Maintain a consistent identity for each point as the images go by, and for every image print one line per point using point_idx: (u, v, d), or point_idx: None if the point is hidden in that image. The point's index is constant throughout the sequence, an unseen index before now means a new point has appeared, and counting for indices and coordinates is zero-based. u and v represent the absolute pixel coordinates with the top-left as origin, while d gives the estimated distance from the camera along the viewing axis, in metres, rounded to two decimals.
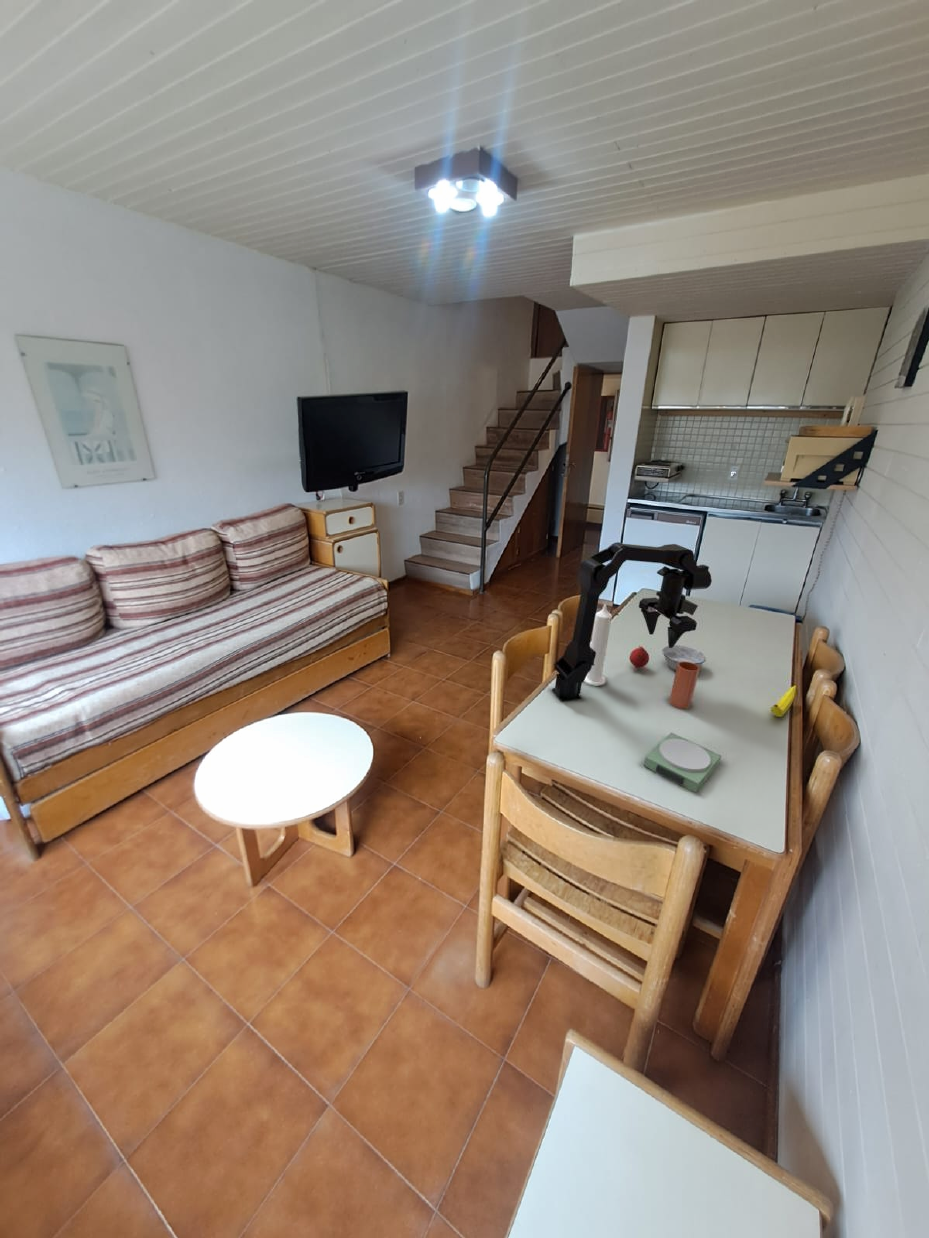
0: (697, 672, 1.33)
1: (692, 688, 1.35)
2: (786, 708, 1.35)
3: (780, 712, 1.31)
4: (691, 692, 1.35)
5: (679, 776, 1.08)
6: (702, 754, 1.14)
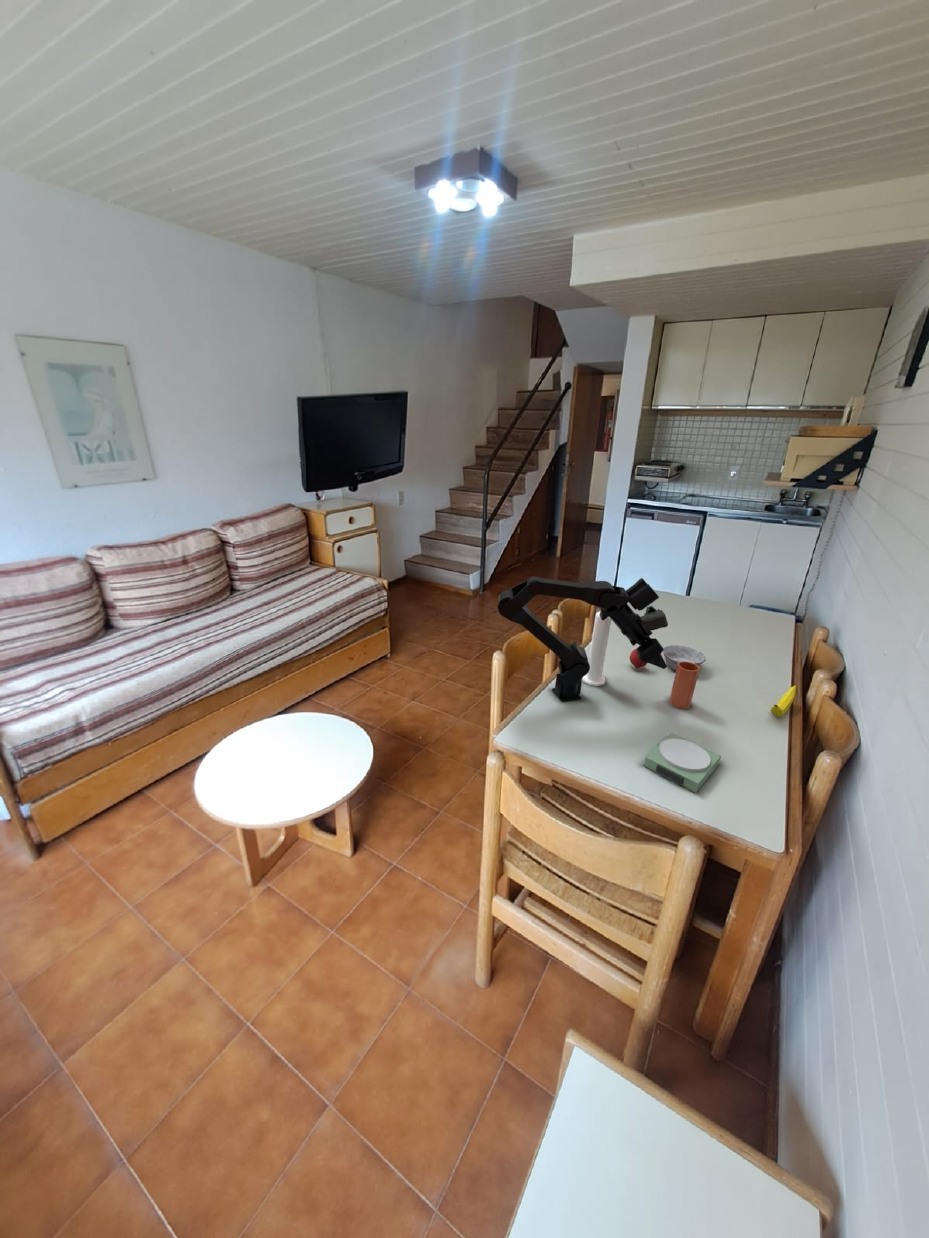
0: (697, 672, 1.33)
1: (692, 688, 1.35)
2: (786, 708, 1.35)
3: (780, 712, 1.31)
4: (691, 692, 1.35)
5: (679, 776, 1.08)
6: (702, 754, 1.14)
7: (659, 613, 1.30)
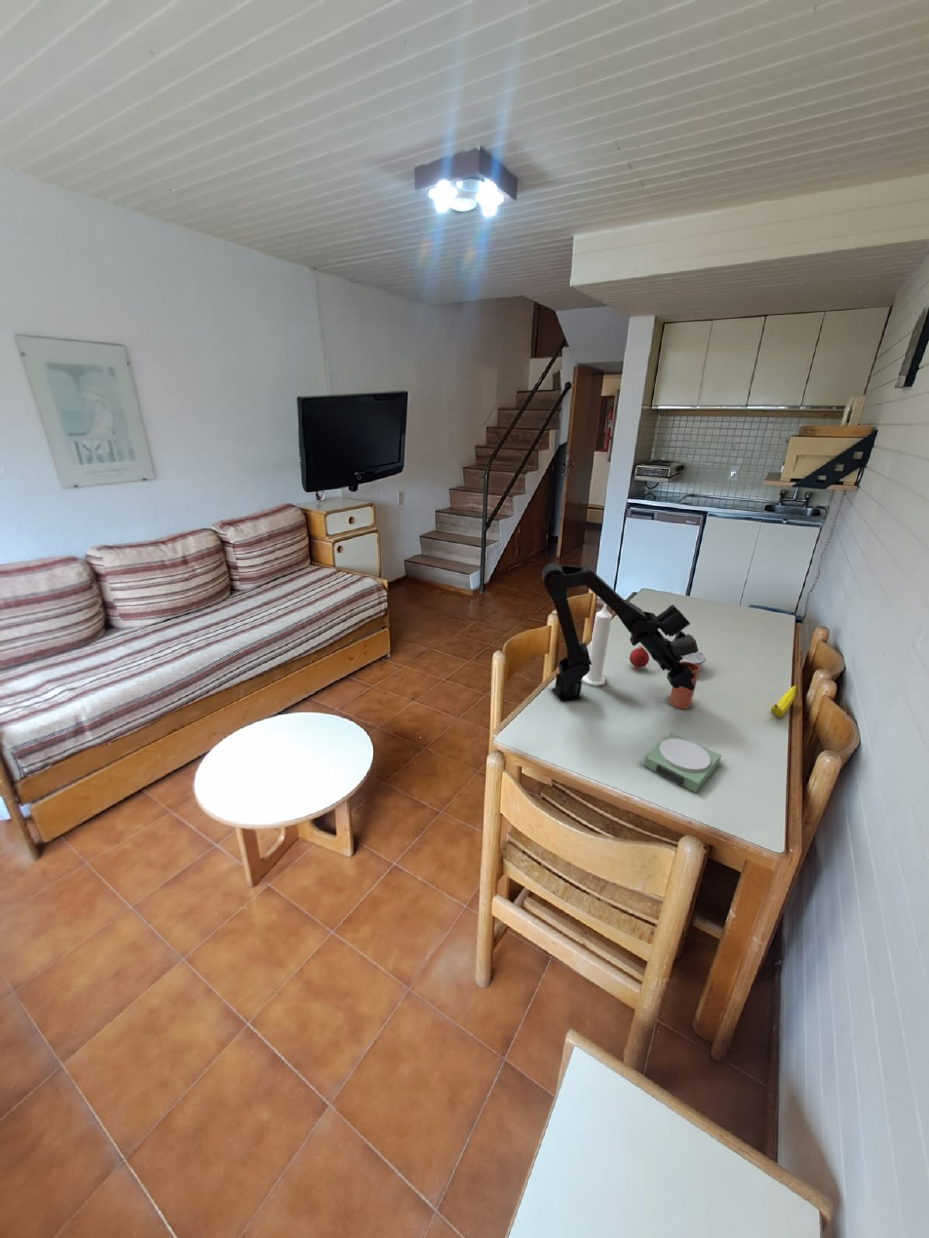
0: (697, 672, 1.33)
1: None
2: (786, 708, 1.35)
3: (780, 712, 1.31)
4: (691, 692, 1.35)
5: (679, 776, 1.08)
6: (702, 754, 1.14)
7: (689, 639, 1.32)
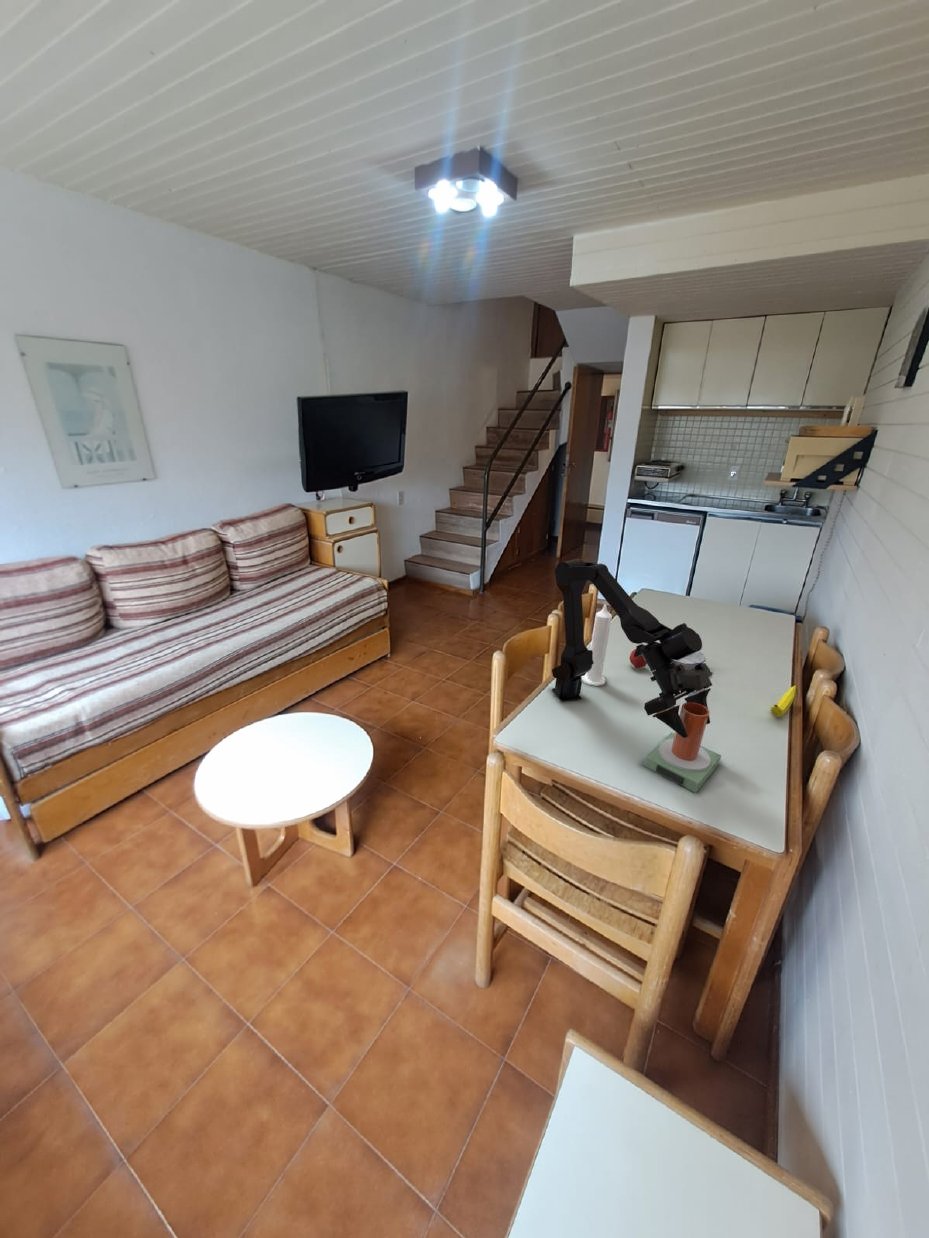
0: (697, 718, 1.07)
1: (690, 736, 1.09)
2: (786, 708, 1.35)
3: (780, 712, 1.31)
4: (688, 741, 1.09)
5: (679, 776, 1.08)
6: (702, 754, 1.14)
7: (699, 672, 1.07)
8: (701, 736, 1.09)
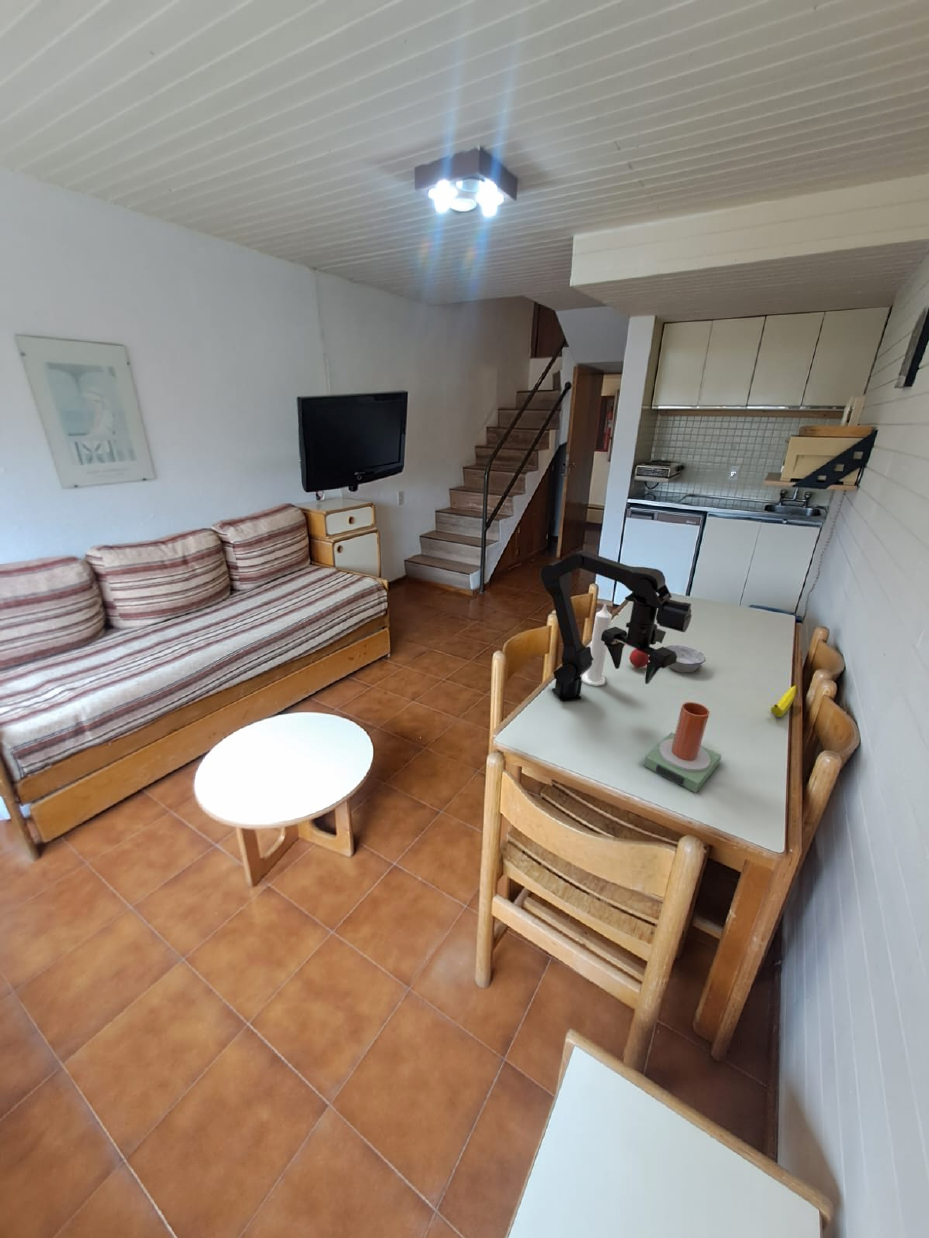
0: (697, 718, 1.07)
1: (690, 736, 1.09)
2: (786, 708, 1.35)
3: (780, 712, 1.31)
4: (688, 741, 1.09)
5: (679, 776, 1.08)
6: (702, 754, 1.14)
7: (656, 628, 1.27)
8: (701, 736, 1.09)
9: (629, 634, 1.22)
